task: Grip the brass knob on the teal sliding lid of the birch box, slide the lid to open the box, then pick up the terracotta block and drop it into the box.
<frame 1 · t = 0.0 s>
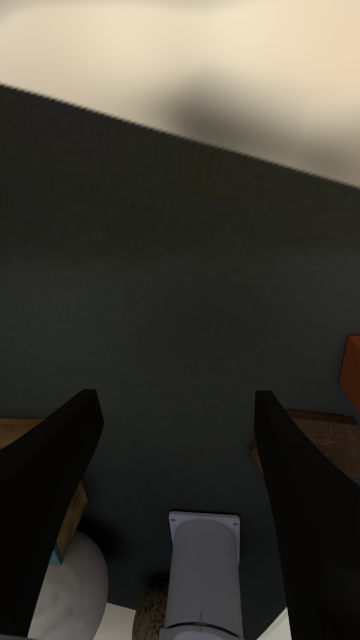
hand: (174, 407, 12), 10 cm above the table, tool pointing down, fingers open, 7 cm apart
decorative ball: (77, 534, 36), on the table
decorative egg: (166, 582, 39), on the table
box: (23, 460, 31), on the table
robot figurine: (304, 449, 26), on the table
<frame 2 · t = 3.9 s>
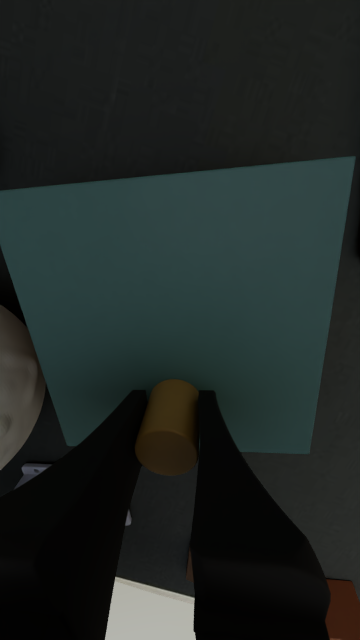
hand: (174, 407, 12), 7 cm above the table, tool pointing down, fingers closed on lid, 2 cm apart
decorative ball: (3, 338, 21), on the table
lid: (165, 358, 10), point 8 cm above the table, slide at 0.0 cm, touching gripper
block: (326, 589, 29), on the table
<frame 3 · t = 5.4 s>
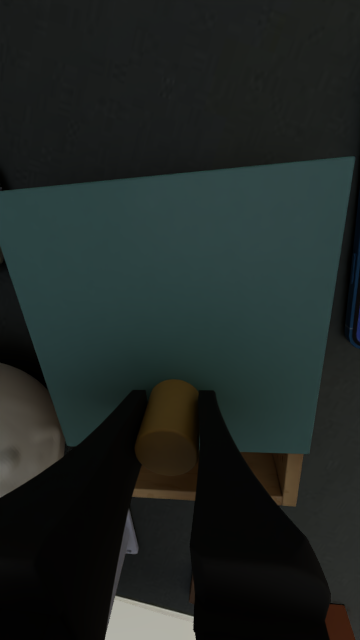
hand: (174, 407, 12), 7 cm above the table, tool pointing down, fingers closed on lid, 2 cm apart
decorative ball: (23, 392, 23), on the table
lid: (165, 358, 10), point 8 cm above the table, slide at 5.0 cm, touching gripper
box: (189, 361, 19), on the table
block: (320, 612, 31), on the table
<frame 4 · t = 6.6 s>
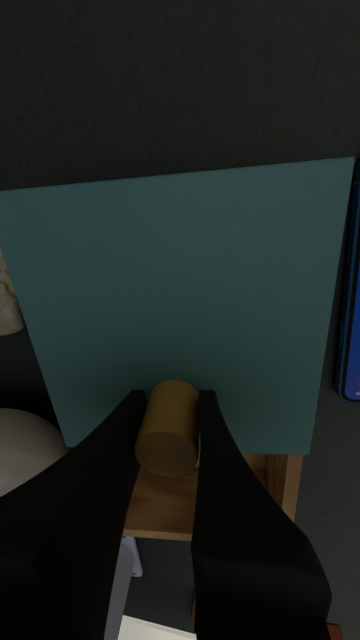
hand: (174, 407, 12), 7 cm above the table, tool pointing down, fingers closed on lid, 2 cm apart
decorative ball: (36, 430, 24), on the table
lid: (165, 358, 10), point 8 cm above the table, slide at 9.1 cm, touching gripper
box: (192, 407, 21), on the table
block: (316, 631, 33), on the table
robot figurine: (231, 603, 33), on the table
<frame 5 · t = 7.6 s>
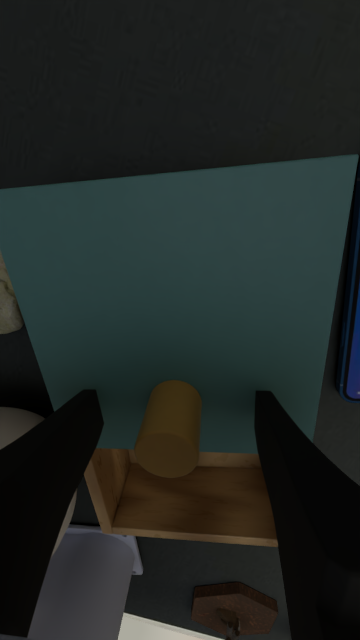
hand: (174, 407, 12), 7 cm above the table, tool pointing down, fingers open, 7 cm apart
decorative ball: (36, 429, 24), on the table
lid: (165, 359, 10), point 8 cm above the table, slide at 9.0 cm
box: (192, 406, 21), on the table
robot figurine: (232, 601, 33), on the table
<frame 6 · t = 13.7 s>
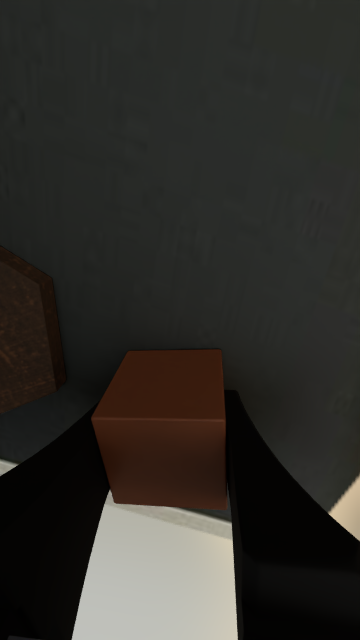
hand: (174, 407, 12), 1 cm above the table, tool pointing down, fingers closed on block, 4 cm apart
block: (177, 387, 13), on the table, touching gripper
when the fingers open (3 cm above the table, at t = 20.2 s): block drops 1 cm, resting on box.
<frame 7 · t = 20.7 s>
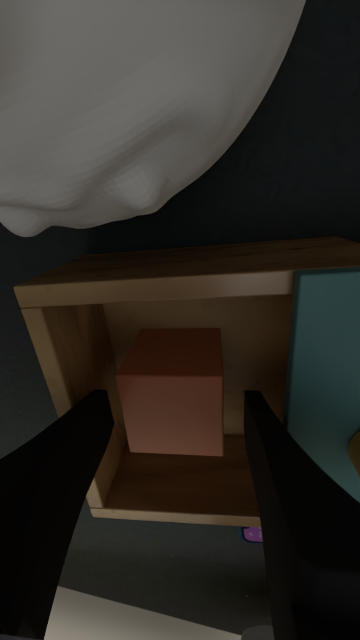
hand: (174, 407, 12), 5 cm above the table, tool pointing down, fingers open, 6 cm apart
decorative ball: (119, 59, 11), on the table
box: (208, 354, 16), on the table
smartphone: (338, 502, 20), on the table
cup: (262, 590, 27), on the table
block: (182, 362, 16), point 1 cm above the table, touching box
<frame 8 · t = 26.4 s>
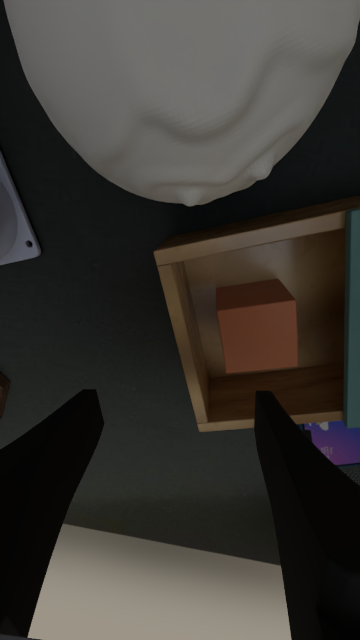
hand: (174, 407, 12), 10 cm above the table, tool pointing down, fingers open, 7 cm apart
decorative ball: (193, 91, 16), on the table
box: (268, 303, 21), on the table
block: (249, 311, 20), point 1 cm above the table, touching box
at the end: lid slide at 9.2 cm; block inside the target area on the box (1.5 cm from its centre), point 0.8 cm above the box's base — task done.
